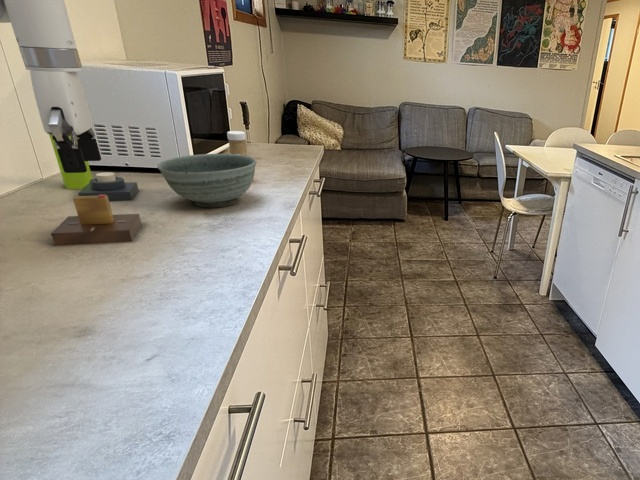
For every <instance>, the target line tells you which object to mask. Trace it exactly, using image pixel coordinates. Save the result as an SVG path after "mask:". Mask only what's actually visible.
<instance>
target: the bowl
mask: <svg viewBox="0 0 640 480" xmlns="http://www.w3.org/2000/svg"><path fill="white" fill-rule="evenodd" d="M256 165H257V160H256V158H254V157H252V156H244V155H236V154H230V153H202V154H191V155H182V156H177V157H173V158H169V159H166V160H164V161H161V162H160V163H158V164H157V169H158V170H159V171H160V173H161V176H162V177H163V178H164V179H165V182H166V183H167V184H168V186H169V187H170V188H171V190H173V192H175V193H176V194H177V195H178V196H180V197H181V198H184V199H185V200H188V201H192V202H194V204H195V205H196V206H198V207H201V208H220V207H227V206H230V205H233V204H235V203H237V201H238V198H239V197H241V196H243V195H244V194H245V193H246V192H247V191H248V190H249V189H250V187H251V186H252V184H253V180H254V177H255V172H256V171H255V170H256Z"/></svg>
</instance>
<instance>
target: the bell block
mask: <svg viewBox="0 0 640 480" xmlns="http://www.w3.org/2000/svg"><path fill="white" fill-rule="evenodd" d="M115 178H116V181H111V182H98V181H97V177H94V178H93V179H91V180H90V181H89V182H90V183H89V184H87V185H86V186H85V187H84V188H83V189H80V191H78V193H77V194H78V195H77V196H99V194H106V195H107V196H108V199H109V202H123V201H124V202H125V201H128V202H129V201H130V202H131V201H133V199H134V198H135V197H136V195H137V194H138V192H139V191H140V190H139V187H138V182H137V181H136V182H134V181H133V182H132V181H131V182H125V179H124V177H121V176H115Z"/></svg>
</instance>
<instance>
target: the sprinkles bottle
mask: <svg viewBox="0 0 640 480" xmlns="http://www.w3.org/2000/svg"><path fill="white" fill-rule="evenodd" d="M226 136H227V137H226V138H227V141H228V145H229V154H236V155H244V156H248V148H247V135H246V132H245V131H242V130H229V131H227V132H226Z"/></svg>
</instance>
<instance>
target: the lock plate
mask: <svg viewBox="0 0 640 480" xmlns="http://www.w3.org/2000/svg"><path fill="white" fill-rule="evenodd" d="M113 218H114V221H113V223H111V224H87V225H81V223H80V220H79V217H78V215H68V216H67V217H65V219H64V220H63V221H62V222H61V223H60V224H59V225H57V227H56V228H55V229H53V231H51V232H50V235H51V239H52V241H53V245H54V246H55V247H58V246H59V247H60V246H76V245H77V246H78V245H94V244H95V245H97V244H98V245H99V244H112V243H115V244H117V243H131V242H133V241H134V240H135V238H136V236H137V234H138V232H139V231H140V229H141V227H142V224H143V223H142V219H141V216H140V213H125V214H124V213H121V214H119V213H118V214H113Z"/></svg>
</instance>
